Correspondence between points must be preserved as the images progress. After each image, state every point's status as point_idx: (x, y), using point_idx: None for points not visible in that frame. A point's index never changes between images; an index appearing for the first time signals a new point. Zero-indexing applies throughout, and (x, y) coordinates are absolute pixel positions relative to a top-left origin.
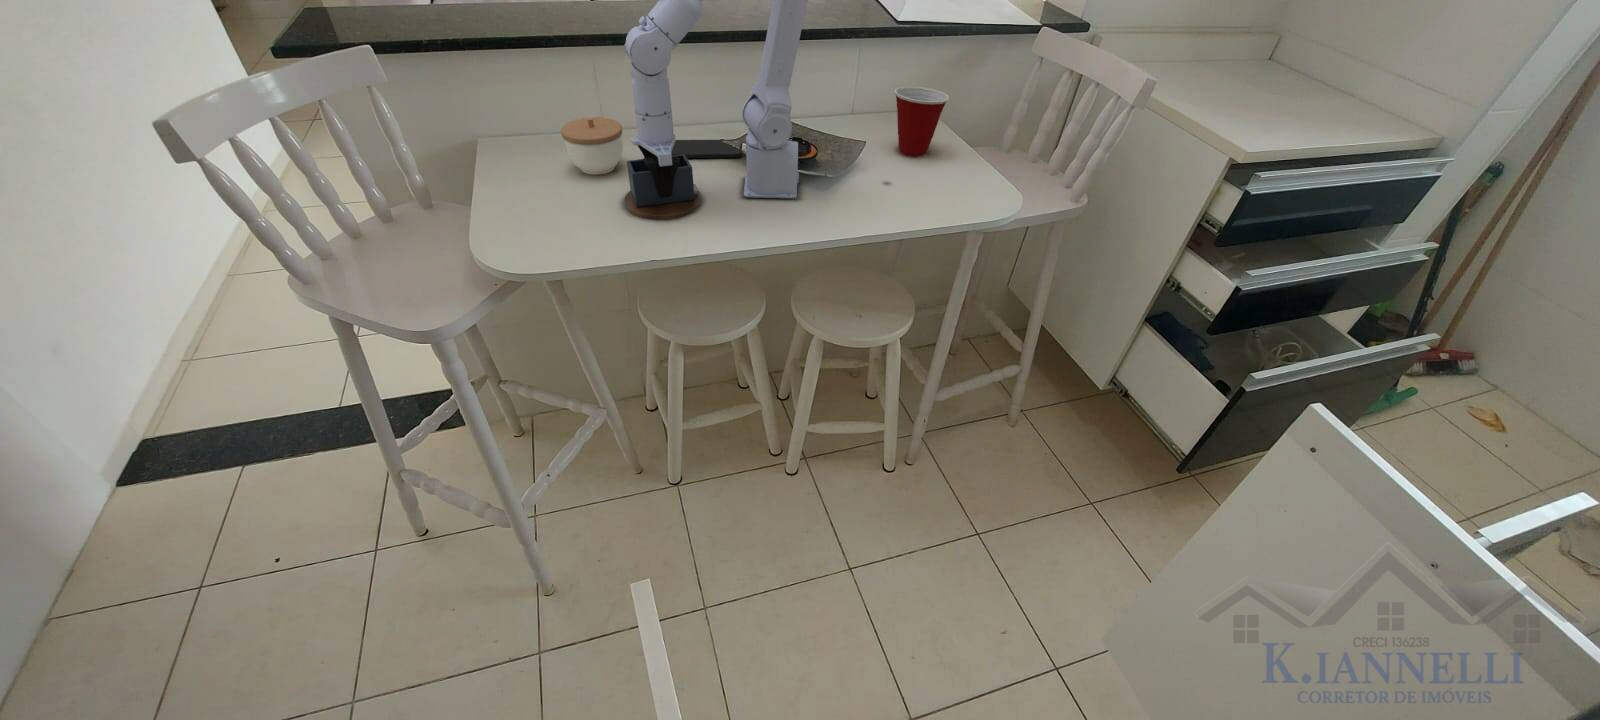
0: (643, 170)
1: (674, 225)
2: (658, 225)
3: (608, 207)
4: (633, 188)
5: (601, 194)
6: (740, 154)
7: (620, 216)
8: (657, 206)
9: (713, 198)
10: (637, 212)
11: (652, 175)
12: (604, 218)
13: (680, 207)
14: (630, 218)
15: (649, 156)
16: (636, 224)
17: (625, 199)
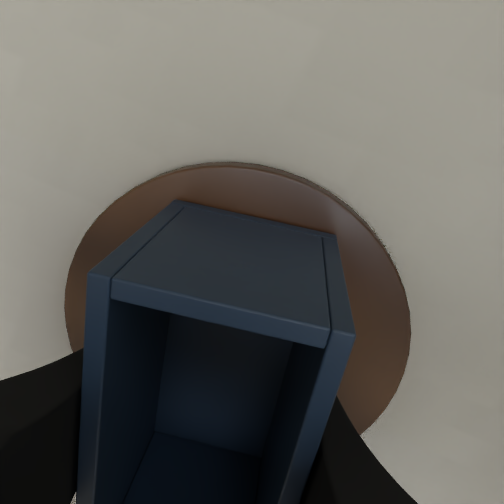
0: (300, 375)
1: (20, 279)
2: (38, 224)
3: (307, 79)
4: (174, 233)
5: (482, 100)
6: None
7: (183, 102)
8: None
9: None
10: (142, 184)
11: (12, 377)
12: (196, 11)
13: None
14: (143, 140)
15: (312, 491)
16: (77, 142)
17: (296, 184)
